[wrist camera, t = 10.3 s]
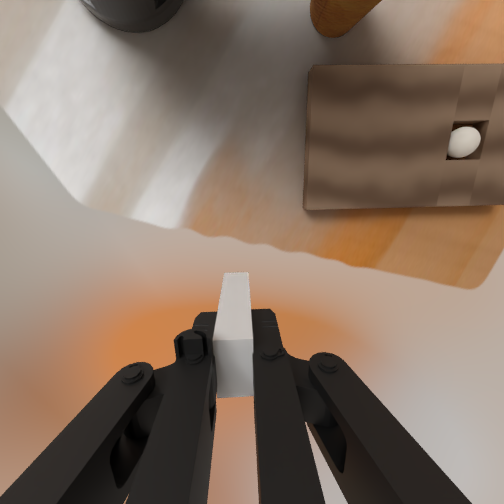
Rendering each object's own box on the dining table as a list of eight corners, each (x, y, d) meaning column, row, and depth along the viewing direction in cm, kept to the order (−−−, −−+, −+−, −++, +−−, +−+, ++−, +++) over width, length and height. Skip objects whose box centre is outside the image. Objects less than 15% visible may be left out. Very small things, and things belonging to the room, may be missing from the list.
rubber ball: (437, 133, 36) (466, 117, 33) (458, 139, 37) (489, 125, 33) (435, 158, 36) (464, 145, 32) (456, 165, 37) (487, 153, 33)
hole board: (308, 72, 33) (313, 65, 31) (523, 71, 34) (544, 63, 32) (302, 207, 39) (306, 210, 36) (488, 202, 40) (504, 204, 37)
